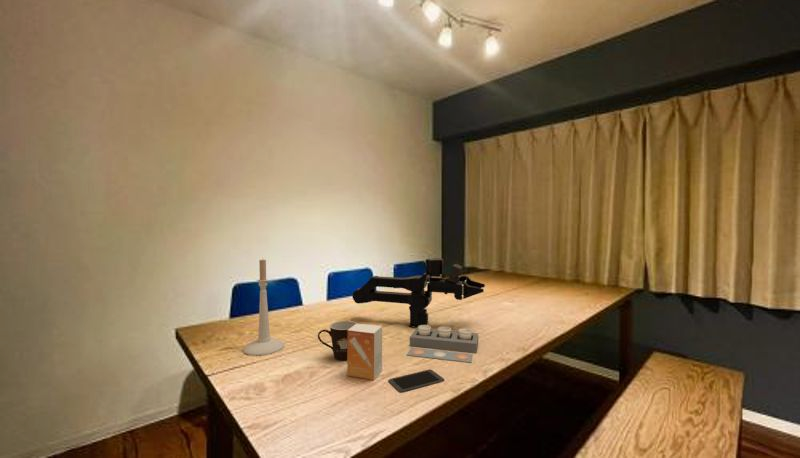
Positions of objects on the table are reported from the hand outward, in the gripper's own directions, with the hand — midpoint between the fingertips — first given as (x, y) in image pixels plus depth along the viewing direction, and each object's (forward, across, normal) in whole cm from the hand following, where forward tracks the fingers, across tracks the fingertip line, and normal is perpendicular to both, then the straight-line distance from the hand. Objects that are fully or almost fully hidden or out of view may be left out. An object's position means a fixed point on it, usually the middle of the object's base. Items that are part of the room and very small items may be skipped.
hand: (484, 287), depth 132 cm
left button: (-19, -17, +15) cm, 30 cm away
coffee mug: (-42, -36, +17) cm, 58 cm away
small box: (-30, -45, +17) cm, 57 cm away
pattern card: (-12, -27, +17) cm, 34 cm away
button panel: (-12, -17, +17) cm, 27 cm away
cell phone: (-15, -45, +18) cm, 51 cm away
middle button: (-12, -17, +15) cm, 26 cm away
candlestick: (-69, -37, +17) cm, 80 cm away
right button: (-5, -17, +15) cm, 23 cm away
